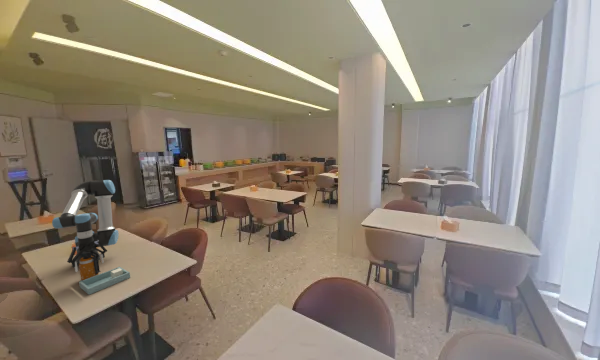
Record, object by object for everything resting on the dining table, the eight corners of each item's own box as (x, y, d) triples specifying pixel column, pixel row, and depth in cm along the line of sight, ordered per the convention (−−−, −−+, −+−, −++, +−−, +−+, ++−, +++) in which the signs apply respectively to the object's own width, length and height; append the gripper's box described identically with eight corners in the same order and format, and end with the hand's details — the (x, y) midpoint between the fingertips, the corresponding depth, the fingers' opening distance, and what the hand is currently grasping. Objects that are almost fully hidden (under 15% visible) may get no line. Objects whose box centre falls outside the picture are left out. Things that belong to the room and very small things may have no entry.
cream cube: (111, 278, 159) (110, 271, 158) (120, 274, 163) (119, 268, 162) (114, 280, 156) (113, 273, 155) (123, 276, 160) (122, 269, 160)
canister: (88, 276, 163) (84, 249, 161) (105, 275, 164) (101, 248, 162) (77, 283, 154) (73, 255, 152) (95, 282, 155) (91, 254, 153)
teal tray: (80, 288, 149) (78, 281, 149) (120, 272, 168) (119, 266, 167) (89, 295, 141) (88, 289, 140) (130, 278, 159) (129, 272, 159)
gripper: (61, 244, 143) (66, 276, 145) (110, 232, 164) (114, 260, 166) (57, 242, 147) (62, 273, 149) (106, 230, 168) (109, 258, 170)
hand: (89, 266), depth 158 cm, fingers open, 13 cm apart
